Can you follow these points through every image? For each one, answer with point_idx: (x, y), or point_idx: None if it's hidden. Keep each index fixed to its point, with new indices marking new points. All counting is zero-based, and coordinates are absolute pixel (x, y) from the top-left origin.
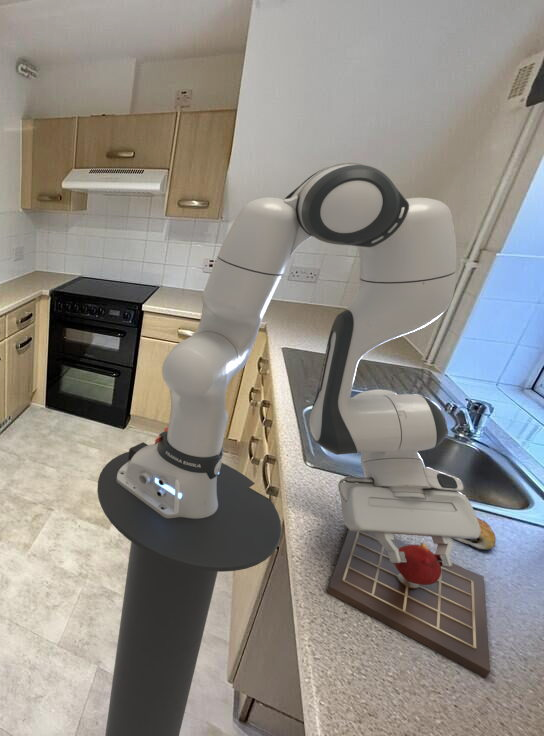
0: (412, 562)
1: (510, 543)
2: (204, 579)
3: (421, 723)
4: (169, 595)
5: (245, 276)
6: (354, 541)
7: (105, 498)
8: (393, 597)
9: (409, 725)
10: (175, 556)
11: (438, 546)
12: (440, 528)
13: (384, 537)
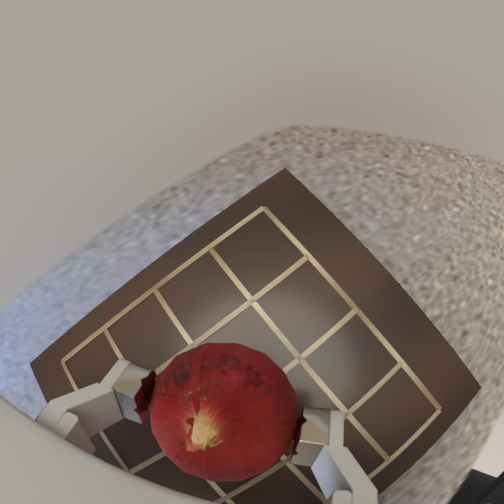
0: (284, 399)
1: None
2: (463, 490)
3: (449, 150)
4: (482, 472)
5: None
6: None
7: None
8: (346, 354)
9: (465, 152)
10: None
11: (91, 432)
12: (45, 462)
13: (376, 500)
